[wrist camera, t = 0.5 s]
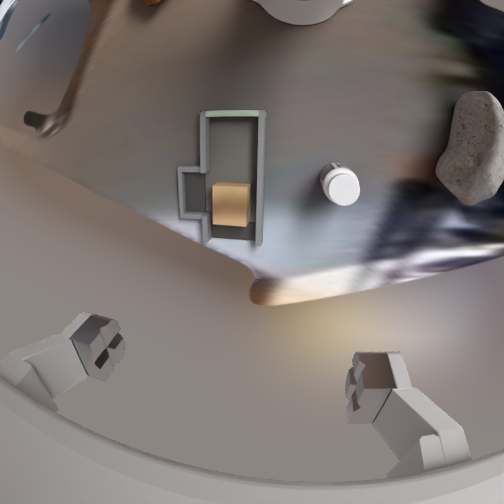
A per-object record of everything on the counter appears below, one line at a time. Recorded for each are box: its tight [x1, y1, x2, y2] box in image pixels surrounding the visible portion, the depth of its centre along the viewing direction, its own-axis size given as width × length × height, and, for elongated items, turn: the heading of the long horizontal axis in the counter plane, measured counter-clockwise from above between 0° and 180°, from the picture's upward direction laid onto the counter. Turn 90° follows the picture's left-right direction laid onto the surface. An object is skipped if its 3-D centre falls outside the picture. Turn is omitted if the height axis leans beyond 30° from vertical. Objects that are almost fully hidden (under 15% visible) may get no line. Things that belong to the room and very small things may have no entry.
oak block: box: [212, 181, 251, 227], centre depth 51 cm, size 7×6×4 cm
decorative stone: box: [435, 91, 504, 205], centre depth 33 cm, size 17×20×10 cm
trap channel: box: [177, 110, 267, 246], centre depth 50 cm, size 24×16×2 cm, turn 179°
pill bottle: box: [320, 163, 360, 206], centre depth 43 cm, size 6×6×10 cm
